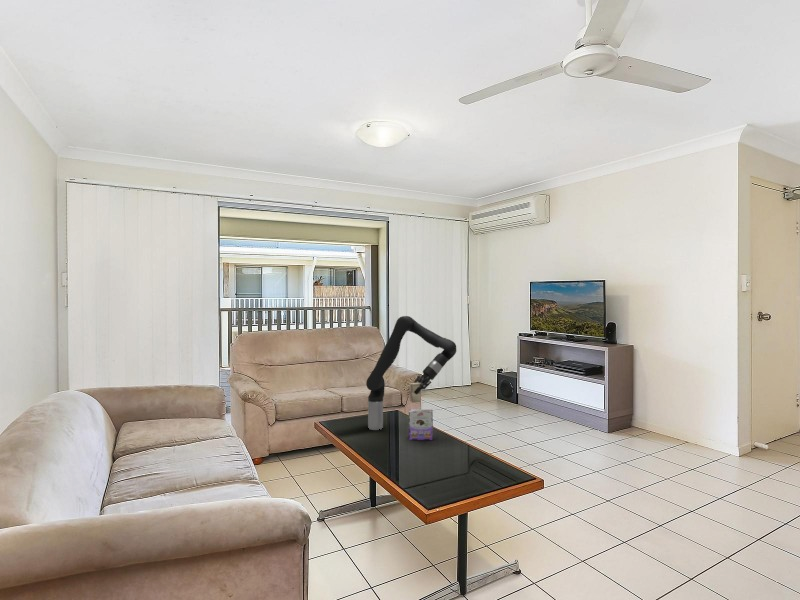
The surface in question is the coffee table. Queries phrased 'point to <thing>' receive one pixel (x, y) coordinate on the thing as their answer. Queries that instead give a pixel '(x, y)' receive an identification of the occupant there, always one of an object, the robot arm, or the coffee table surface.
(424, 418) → the candy box
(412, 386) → the birch block
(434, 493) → the coffee table surface
